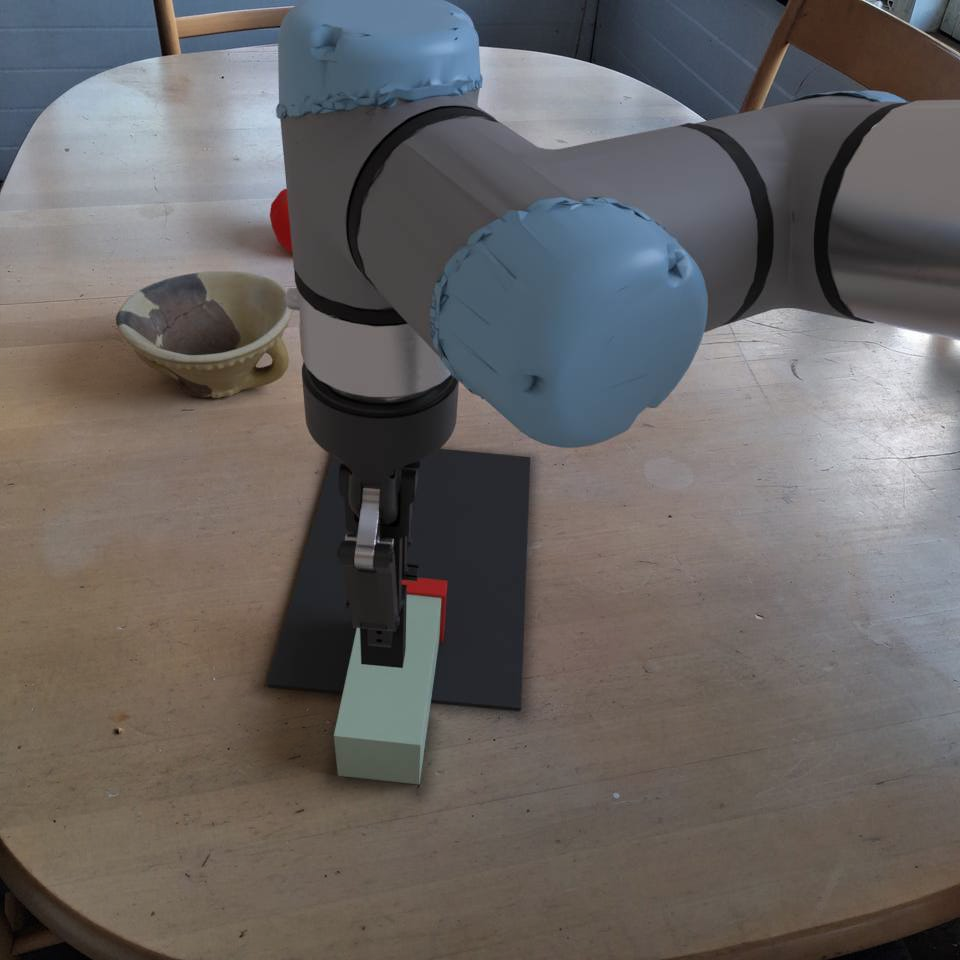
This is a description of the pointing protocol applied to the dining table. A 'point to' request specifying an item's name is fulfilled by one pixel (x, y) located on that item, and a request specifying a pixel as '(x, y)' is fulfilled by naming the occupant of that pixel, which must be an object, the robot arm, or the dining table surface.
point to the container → (393, 696)
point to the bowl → (210, 330)
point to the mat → (441, 556)
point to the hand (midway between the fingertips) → (383, 656)
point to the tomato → (281, 220)
